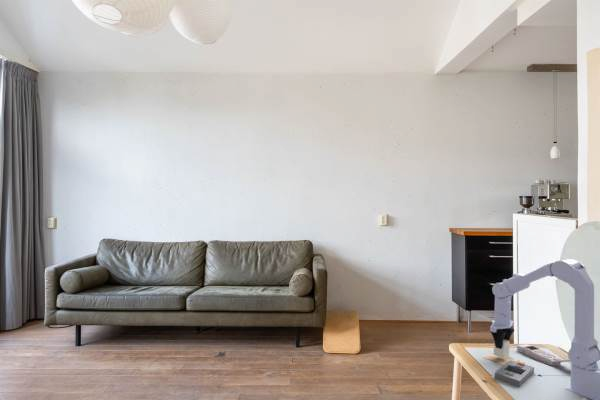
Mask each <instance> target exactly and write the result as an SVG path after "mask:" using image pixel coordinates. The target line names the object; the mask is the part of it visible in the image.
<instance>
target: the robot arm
mask: <svg viewBox="0 0 600 400" xmlns="http://www.w3.org/2000/svg"><path fill="white" fill-rule="evenodd" d="M546 277H555V278H557V279H558V280H561V281H562V282H564V283H567V284H568V285H569V286H570V287H571V288H572V289H574V335H573V338H572V340H571V344H570V345H571V347H570V348H569V350H568V352H567V357H568V359H569V360H570V361H569V362H570V385H567V386H566V387H565V388H564V389H565V390H567V391H569V392H572V393H576V394H578V395H581V396H583V397H585V398H587V399H589V400H600V369H599V366H598V362H599V361H600V348H599V345H598V343H599V342H598V341H597V340H596V338H595V284H594V282H593V280H592V279H591V277H590V275H589V274H588V272H587V268H586V266H585V265H584V264H582V262H580V261H578V260H577V259H574V258H569V259H565V260H564V259H563V260H556V261H554V262H551V263H550V262H549V263H546V264H544V265H542V266H541V267H539V268H536V269H534V270H532V271H530V272H528V273H527V274H523V273H514V274H512V277H510V278H508V279H507V278H504V279H502V282H496V283H495V284H494V285H492V288H491V290H492V294H493V295H494V318H493V320H491V325H490V326H489V332H490V334H491V336H492V338H493V343H494V342H495V346H496V348H499V349H502V346H503V340H504V339H505V340H508V341H510V339H511V337H512V335H513V333H514V331H515V328H513V327H514V326H515V323H514V322H515V321H513V320H511V317H512V313H511V312H512V297H513V296H514V295H515V294H517V293H520V292H522V291H524V290H526V289H529V287H530V285H531V283H533V282H536V281H538V280H541V279H544V278H546Z"/></svg>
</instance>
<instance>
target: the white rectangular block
mask: <svg viewBox="0 0 600 400" xmlns="http://www.w3.org/2000/svg"><path fill="white" fill-rule="evenodd" d="M493 353H494V355H496V356H499V357H502V358H506V357H510V340H509V341H508V340H505V339H504V340H503V346H502V349H499V348H496V346H495V342H494V341H493Z"/></svg>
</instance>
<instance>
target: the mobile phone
mask: <svg viewBox="0 0 600 400" xmlns="http://www.w3.org/2000/svg"><path fill="white" fill-rule="evenodd" d="M516 350H517V351H518V352H520V354H521V353H522V355H525V356H527V357H530V358H532V359H534V360H536V361H539V362H541V363H543V364H547V365H548V366H551V367H554V366H558V365H561V364H562V363H566V362H571V361H570V360H569V358H565V359H562V358H559V356H558V357H557V356H555V355H553V354H551V353H549V352H546V351H545V350H542V349H540V348H539V347H536V346H533V345H530V344H527V343H525V344H519V345H518V344H517V345H516Z"/></svg>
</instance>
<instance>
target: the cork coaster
mask: <svg viewBox="0 0 600 400" xmlns="http://www.w3.org/2000/svg"><path fill="white" fill-rule="evenodd" d="M483 359H484V360H485V359H486V360H488V361H491V362H494V363H496V364H498V365H499V364H500V365H501V366H504V365H505V364H506V363H507V362H509V361H510V360H512V361H515V362H520V360H519V359H516V358H513V357H510V356H508V357H506V358H502V357H499V356H496V355H494V352H493V353H491V354H488V355H486V356H483Z"/></svg>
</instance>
